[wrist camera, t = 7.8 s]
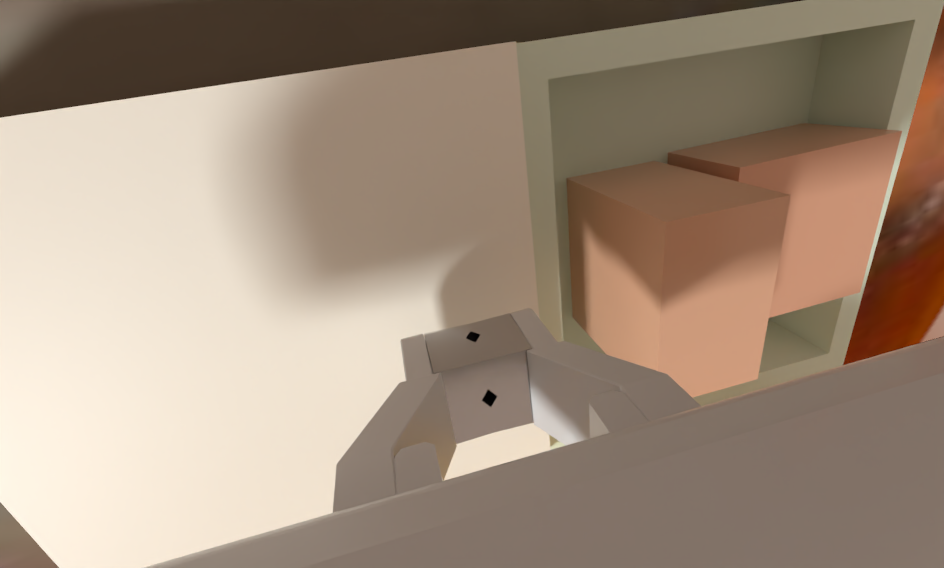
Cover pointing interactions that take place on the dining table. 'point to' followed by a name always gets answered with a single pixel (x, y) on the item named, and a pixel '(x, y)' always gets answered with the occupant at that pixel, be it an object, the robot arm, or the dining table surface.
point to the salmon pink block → (675, 270)
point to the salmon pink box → (811, 200)
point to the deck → (243, 292)
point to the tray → (715, 125)
